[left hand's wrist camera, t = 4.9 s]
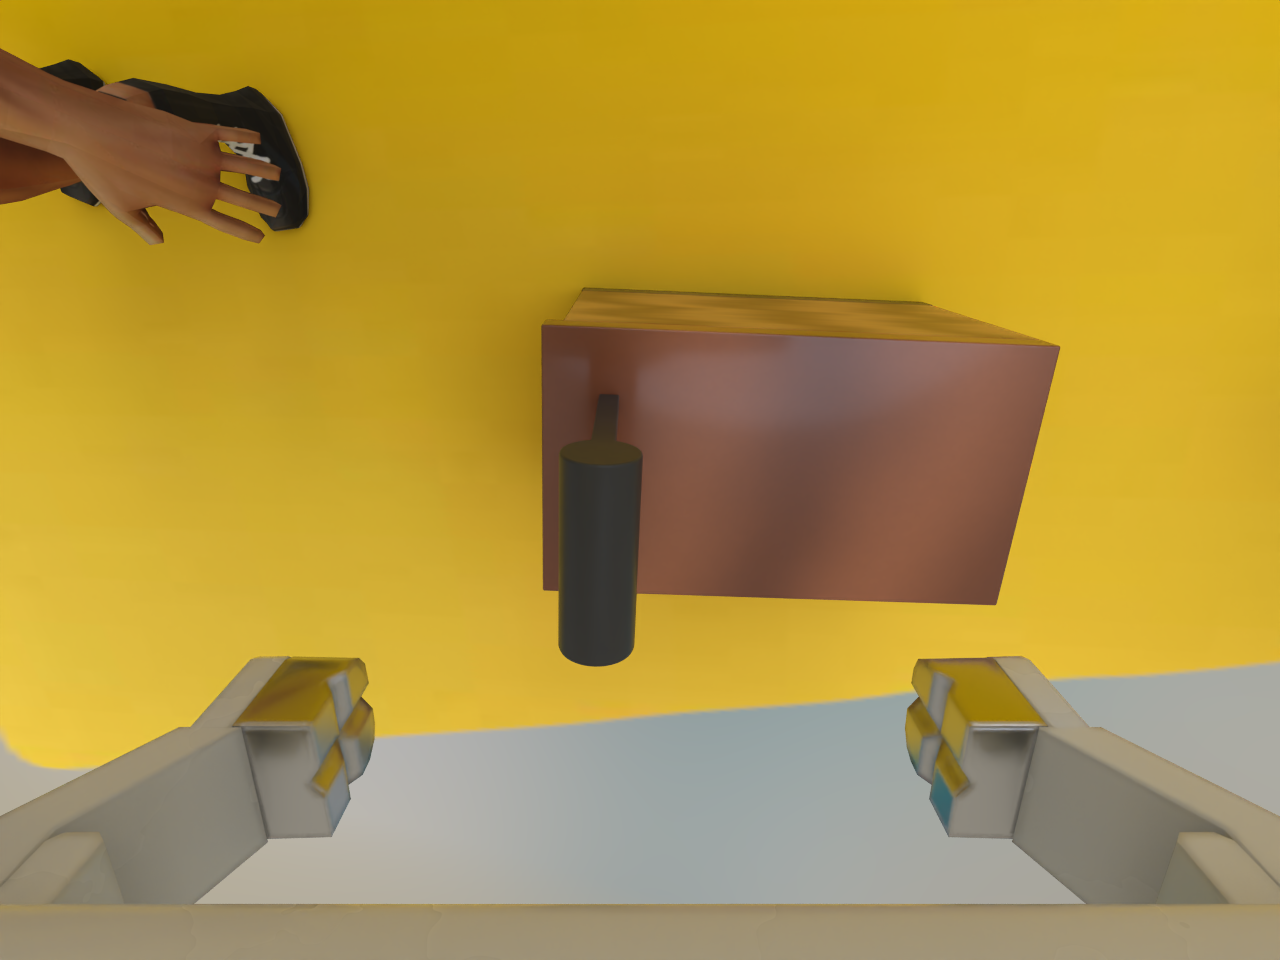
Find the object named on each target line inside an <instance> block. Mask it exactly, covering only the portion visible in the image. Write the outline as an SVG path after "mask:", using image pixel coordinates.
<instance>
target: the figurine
mask: <svg viewBox="0 0 1280 960" xmlns="http://www.w3.org/2000/svg"><path fill="white" fill-rule="evenodd" d="M218 142H225V143H226V144H227V145H228V146H229V147H230V148H231V149H232V150H233V151H234V152H235V153H236V154H237V155H235V154H230V153H226V152H221V150H220V147H219V143H218ZM220 171H227V172H237V173H243V174H246V180H247V186H248V189H249V191H250V193H248V192H245V191H242V190H239V189H237V188H234V187H232V186H229V185H226V184H224V183H221V182H220ZM59 188H60V189H61V192H62V193H64V194H66V195H68V196H70V197H73V198H75V199H77V200H80V201H82V202H85V203H87V204H90V205H92V206H98V205H99V204H100V203H102V204H103V205H104V206H105V207H106V208H107V209H108V210H109V211H110V213H112V214H113V215H114V216H115V217H116V218H117V219H119V220H120V221H122V222H123V223H125V224H126V225H128V226H129V227H131V228H132V229H133V230H134V231H135V232H136V233H138V234H139V235H140V236H141V237H142V238H143V239H144V240H145V241H146V242H147V243H148V244H149V245H153V244H159V243H164V240H163V233H162V231H161V230H160V228H159V227H158V226H157V224H156V223H155V222H154V221H153V220H152V218H151V217H150V216H149V214H148V212H147V211H146V209H145V208H147V207H152V206H156V205H157V206H160V207H163V208H166V209H169V210H172V211H175V212H178V213H181V214H183V215H186V216H189V217H191V218H194V219H197V220H199V221H202V222H204V223H205V224H207V225H209V226H211V227H213V228H215V229H217V230H220V231H222V232H225V233H228V234H230V235H233V236H236V237H238V238H241V239H244V240H248V241H252V242H256V243H260V241H261V240H262V239H263V237H264V236H265V235H264V234H263V233H262V231H261V230H259V229H257V228H256V227H254V226H252V225H250V224H248V223H246V222H244V221H241V220H239V219H236V218H233V217H230V216H228V215H225V214H222V213H220V212H218V211H216V210H214V209H212V206H213V204H214V202H215V199H218V200H222V201H225V202H228V203H231V204H234V205H237V206H240V207H243V208H246V209H249V210H253V211H256V212H259V214H260V216H261V217H262V219H263V220H264V221H265V222H266V223H267V224H268V225H269V227H270V228H271V229H272V230H273V231H282V230H288V229H294V228H300V227H301V225H302V223H303V222H304V220H305V219H306V217H307V216H308V205H309V187H308V184H307V180H306V176H305V172H304V169H303V165H302V162H301V160H300V157H299V155H298V153H297V150H296V148H295V145H294V143H293V140H292V138H291V135H290V133H289V130H288V128H287V125H286V123H285V121H284V118H283V116H282V114H281V113H280V112H279V111H278V110H277V109H276V108H275V107H274V106H273V105H272V104H271V103H270V102H269V101H268V100H267V99H266V98H265V97H264V96H263V94H261V93H260V92H259V91H258V90H256V89H254V88H251V87H249V86H247V87H245V88H242V89H240V90H237V91H234V92H230V93H225V94H221V95H215V94H205V93H195V92H192V91H188V90H185V89H181V88H177V87H174V86H170V85H166V84H161V83H156V82H151V81H146V80H141V79H136V78H131V79H127V80H124V81H120V82H116V83H112V84H108V85H105V83H104V82H103V81H102V80H101V79H100V78H99V77H97V76H96V75H95V74H93V73H92V72H91V71H90V70H88V69H87V68H86V67H84V66H83V65H82V64H80V63H79V62H75V61H72V60H69V59H68V60H65V61H62V62H60V63H57V64H54V65H51V66H47V67H43V68H37V67H35V66H33V65H31V64H29V63H27V62H25V61H23V60H22V59H20V58H18V57H16V56H14V55H12V54H10V53H8V52H6V51H4V50H2V49H0V204H6V203H12V202H18V201H23V200H26V199H29V198H32V197H35V196H38V195H41V194H44V193H47V192H50V191H53V190H56V189H59Z"/></svg>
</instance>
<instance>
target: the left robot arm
mask: <svg viewBox="0 0 1280 960" xmlns="http://www.w3.org/2000/svg"><path fill="white" fill-rule="evenodd" d="M368 683H369V682H368V677H367V672H366V667H365V663H364V662H363V661H361V660H360V659H359V658H332V657H288V656H281V657H257V658H254V659H251V660H250V661H249V662H248V663H247V664H246V665H245V666H244V667H243V669H242V670H241V671H240V672H239V673H238V674H237V675H236V676H235V678H234V679H233V680H232V681H231V682H230V683H229V684H228V685H227V687H226V688H225V689H224V690H223V691H222V692H221V693H220V694H219V696H218V697H217V698H216V699H215V700H214V701H213V702H212V703H211V704H210V706H209V707H208V708H207V709H206V710H205V711H204V712H203V713H202V715H201V716H200V717H199V718H198V719H197V720H196V721H195V722H194V724H193V725H192V726H191V727H179V728H177V729H175V730H173V731H171V732H169V733H167V734H165V735H163V736H160V737H158V738H156V739H154V740H152V741H150V742H148V743H146V744H144V745H142V746H140V747H138V748H136V749H134V750H132V751H130V752H128V753H126V754H124V755H122V756H120V757H118V758H116V759H114V760H112V761H110V762H108V763H106V764H104V765H102V766H100V767H98V768H96V769H94V770H92V771H90V772H88V773H86V774H84V775H82V776H80V777H78V778H76V779H74V780H72V781H70V782H68V783H66V784H64V785H62V786H60V787H58V788H56V789H54V790H52V791H50V792H48V793H46V794H44V795H42V796H40V797H38V798H36V799H34V800H32V801H30V802H28V803H26V804H24V805H22V806H20V807H18V808H16V809H14V810H12V811H10V812H8V813H6V814H4V815H2V816H0V960H1280V816H1278V815H1276V814H1274V813H1272V812H1270V811H1268V810H1266V809H1264V808H1262V807H1260V806H1258V805H1256V804H1254V803H1252V802H1250V801H1248V800H1246V799H1244V798H1242V797H1240V796H1238V795H1236V794H1234V793H1232V792H1230V791H1228V790H1226V789H1224V788H1222V787H1220V786H1218V785H1216V784H1214V783H1212V782H1210V781H1208V780H1206V779H1204V778H1202V777H1200V776H1198V775H1196V774H1194V773H1192V772H1190V771H1188V770H1186V769H1184V768H1182V767H1180V766H1177V765H1175V764H1174V763H1172V762H1170V761H1168V760H1165V759H1163V758H1161V757H1159V756H1158V755H1156V754H1154V753H1151V752H1149V751H1148V750H1145V749H1144V748H1141V747H1139V746H1137V745H1135V744H1133V743H1131V742H1129V741H1127V740H1125V739H1123V738H1121V737H1119V736H1117V735H1115V734H1113V733H1111V732H1109V731H1107V730H1105V729H1103V728H1101V727H1089V726H1088V725H1087V724H1086V723H1085V721H1084V720H1083V719H1082V718H1081V717H1080V716H1079V715H1078V714H1077V712H1076V711H1075V710H1074V709H1073V708H1072V707H1071V706H1070V705H1069V703H1068V702H1067V701H1066V700H1065V699H1064V698H1063V697H1062V696H1061V694H1060V693H1059V692H1058V691H1057V690H1056V689H1055V688H1054V687H1053V685H1052V684H1051V683H1050V682H1049V681H1048V680H1047V679H1046V678H1045V676H1044V675H1043V674H1042V673H1041V672H1040V671H1039V670H1038V669H1037V667H1036V666H1035V665H1034V664H1033V663H1032V662H1031V661H1030V660H1029V659H1027V658H1024V657H1022V656H1008V657H987V658H949V659H918V661H917V663H916V665H915V667H914V670H913V676H912V682H911V683H912V685H913V687H914V689H915V690H916V692H917V694H918V696H919V697H918V698H917V699H916V700H915V701H914V702H913V703H912V704H911V705H910V706H909V707H908V709H907V716H906V724H905V732H906V743H907V749H908V753H909V756H910V760H911V762H912V764H913V767H914V769H915V771H916V773H917V775H918V776H920V777H921V778H923V779H924V780H926V781H927V782H928V783H930V784H931V785H932V786H931V792H930V798H929V799H930V801H931V803H932V805H933V807H934V809H935V811H936V813H937V815H938V817H939V819H940V821H941V823H942V825H943V827H944V829H945V831H946V833H947V835H948V837H966V838H1001V839H1013V840H1012V842H1013V843H1014V844H1015V845H1017V846H1018V847H1019V848H1020V849H1021V850H1023V851H1024V852H1025V853H1026V854H1027V855H1029V856H1030V857H1031V858H1032V859H1033V860H1034V861H1036V862H1037V863H1038V864H1039V865H1040V866H1042V867H1043V868H1044V869H1045V870H1046V871H1048V872H1049V873H1050V874H1051V875H1052V876H1054V877H1055V878H1056V879H1057V880H1058V881H1060V882H1061V883H1062V884H1063V885H1064V886H1066V887H1067V888H1068V889H1069V890H1070V891H1071V892H1073V893H1074V894H1075V895H1076V896H1077V897H1079V898H1080V899H1081V900H1082V901H1083V902H1085V903H1086V904H194V903H196V902H197V901H198V900H199V899H200V898H202V897H203V896H204V895H205V894H206V893H208V892H209V891H210V890H211V889H212V888H213V887H215V886H216V885H217V884H218V883H220V882H221V881H222V880H223V879H224V878H225V877H227V876H228V875H229V874H230V873H231V872H233V871H234V870H235V869H236V868H237V867H239V866H240V865H241V864H242V863H243V862H245V861H246V860H247V859H248V858H249V857H251V856H252V855H253V854H254V853H255V852H257V851H258V850H259V849H260V848H261V847H263V846H264V845H265V844H266V843H267V842H268V841H267V839H278V838H313V837H332V835H333V833H334V831H335V829H336V827H337V825H338V823H339V821H340V819H341V817H342V815H343V813H344V811H345V809H346V807H347V805H348V803H349V801H350V799H351V798H350V792H349V786H348V785H349V784H350V783H352V782H353V781H354V780H356V779H357V778H359V777H360V776H361V775H363V773H364V771H365V768H366V767H367V764H368V762H369V760H370V756H371V752H372V747H373V743H374V731H375V722H374V715H373V708H372V707H371V706H370V705H369V704H368V703H367V702H366V701H365V700H364V699H363V698H362V697H361V696H362V694H363V692H364V690H365V689H366V687H367V685H368Z"/></svg>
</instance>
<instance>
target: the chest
mask: <svg viewBox="0 0 1280 960" xmlns="http://www.w3.org/2000/svg"><path fill="white" fill-rule="evenodd" d="M564 320H571V321H595V322H619V323H643V324H667V325H691V326H715V327H738V328H762V329H786V330H810V331H834V332H858V333H882V334H906V335H930V336H954V337H978V338H1002V339H1026V340H1039V339H1036V338H1032V337H1029V336H1026V335H1023V334H1020V333H1017V332H1014V331H1010V330H1007V329H1004V328H1001V327H998V326H995V325H991V324H988V323H985V322H982V321H979V320H976V319H972V318H969V317H966V316H963V315H960V314H957V313H954V312H950V311H947V310H944V309H941V308H938V307H935V306H932V305H930V304H927V303H924V302H906V301H883V300H859V299H836V298H813V297H790V296H766V295H743V294H720V293H696V292H673V291H650V290H626V289H603V288H583V289H582V292H581V294H580V295H579V297H578V298H577V300H576V302H575V303H574V305H573V306H572V308H571V310H570V311H569V313H568V314H567V316H566V317H565V319H564Z"/></svg>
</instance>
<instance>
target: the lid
mask: <svg viewBox="0 0 1280 960" xmlns="http://www.w3.org/2000/svg"><path fill="white" fill-rule="evenodd" d="M541 330H542V503H543V590H549V591H559V648H560V651H561V652H562V654H563V655H564V656H565V657H566V658H567V659H569V660H571V661H573V662H575V663H578V664H581V665H585V666H608V665H612V664H615V663H618V662H620V661H622V660H624V659H626V658H627V657H628V656H629V655H630V654H631V652H632V650H633V648H634V638H635V617H636V595H637V593H641V594H671V595H702V596H732V597H762V598H793V599H823V600H854V601H884V602H915V603H945V604H975V605H996V604H997V599H998V595H999V591H1000V587H1001V583H1002V579H1003V575H1004V571H1005V567H1006V563H1007V559H1008V555H1009V551H1010V547H1011V543H1012V539H1013V535H1014V531H1015V527H1016V523H1017V519H1018V515H1019V511H1020V507H1021V503H1022V499H1023V495H1024V491H1025V487H1026V483H1027V479H1028V475H1029V471H1030V467H1031V463H1032V459H1033V455H1034V451H1035V447H1036V443H1037V439H1038V435H1039V431H1040V427H1041V423H1042V419H1043V415H1044V411H1045V407H1046V403H1047V399H1048V395H1049V391H1050V387H1051V382H1052V378H1053V374H1054V370H1055V366H1056V362H1057V358H1058V354H1059V350H1060V346H1058V345H1054V344H1051V343H1048V342H1045V341H1042V340H1026V339H1002V338H978V337H954V336H930V335H906V334H882V333H858V332H834V331H810V330H786V329H762V328H738V327H715V326H691V325H667V324H643V323H619V322H595V321H571V320H546V321H545V322H544V323H543V324H542V326H541Z"/></svg>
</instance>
